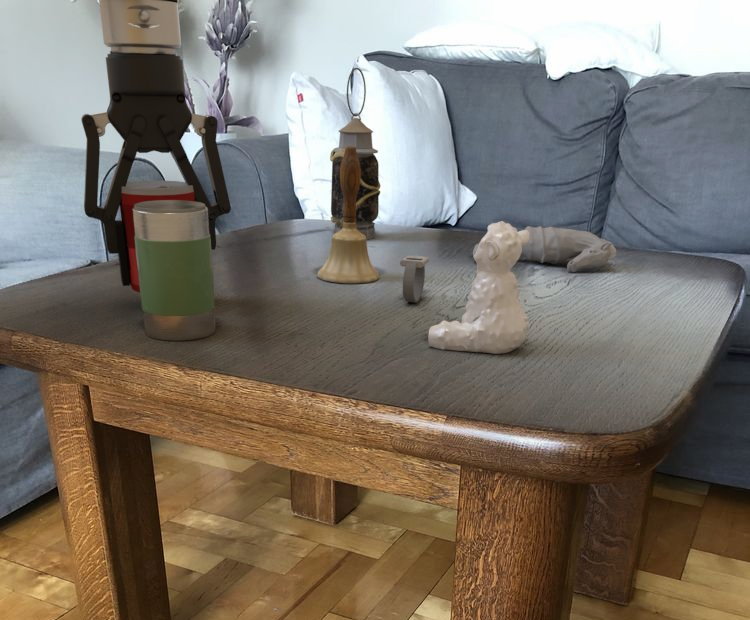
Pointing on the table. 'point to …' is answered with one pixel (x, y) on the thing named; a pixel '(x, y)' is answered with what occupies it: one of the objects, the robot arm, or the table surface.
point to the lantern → (369, 180)
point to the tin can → (175, 269)
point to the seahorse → (566, 248)
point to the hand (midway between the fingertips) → (165, 280)
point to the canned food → (143, 193)
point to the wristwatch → (413, 277)
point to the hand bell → (349, 233)
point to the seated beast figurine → (490, 299)
